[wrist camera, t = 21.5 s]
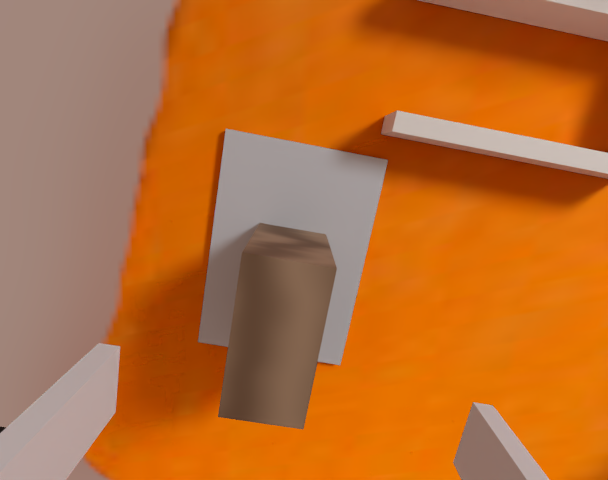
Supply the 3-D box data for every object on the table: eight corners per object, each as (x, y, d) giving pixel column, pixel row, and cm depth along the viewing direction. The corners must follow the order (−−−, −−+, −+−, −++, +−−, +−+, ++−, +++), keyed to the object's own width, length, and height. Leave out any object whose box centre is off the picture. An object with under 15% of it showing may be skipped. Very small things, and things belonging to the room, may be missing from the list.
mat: (339, 361, 36) (340, 365, 35) (199, 338, 35) (197, 342, 35) (386, 159, 31) (388, 160, 31) (227, 129, 31) (225, 128, 30)
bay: (615, 180, 32) (659, 183, 28) (380, 134, 31) (392, 131, 27) (671, 33, 29) (728, 15, 25) (416, -23, 28) (434, -51, 24)
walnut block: (326, 234, 32) (337, 268, 23) (302, 352, 35) (303, 429, 25) (259, 222, 32) (241, 252, 22) (241, 343, 35) (218, 416, 25)
